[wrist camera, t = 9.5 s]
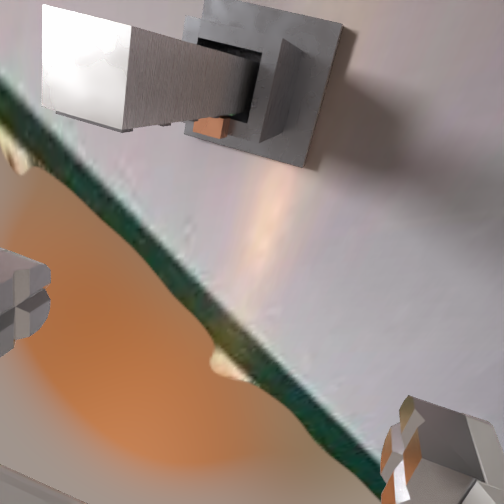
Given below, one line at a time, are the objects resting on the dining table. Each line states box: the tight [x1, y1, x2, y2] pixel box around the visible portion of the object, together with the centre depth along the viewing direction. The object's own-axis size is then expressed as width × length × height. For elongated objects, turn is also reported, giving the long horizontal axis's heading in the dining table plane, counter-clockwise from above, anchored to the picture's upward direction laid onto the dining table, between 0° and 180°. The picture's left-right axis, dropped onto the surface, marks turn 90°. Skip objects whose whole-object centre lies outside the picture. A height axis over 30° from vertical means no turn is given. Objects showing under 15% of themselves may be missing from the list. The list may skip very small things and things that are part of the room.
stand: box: [180, 0, 343, 168], centre depth 38 cm, size 14×14×14 cm
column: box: [42, 5, 260, 133], centre depth 27 cm, size 4×4×22 cm
